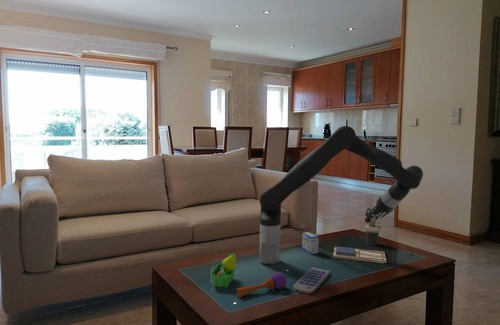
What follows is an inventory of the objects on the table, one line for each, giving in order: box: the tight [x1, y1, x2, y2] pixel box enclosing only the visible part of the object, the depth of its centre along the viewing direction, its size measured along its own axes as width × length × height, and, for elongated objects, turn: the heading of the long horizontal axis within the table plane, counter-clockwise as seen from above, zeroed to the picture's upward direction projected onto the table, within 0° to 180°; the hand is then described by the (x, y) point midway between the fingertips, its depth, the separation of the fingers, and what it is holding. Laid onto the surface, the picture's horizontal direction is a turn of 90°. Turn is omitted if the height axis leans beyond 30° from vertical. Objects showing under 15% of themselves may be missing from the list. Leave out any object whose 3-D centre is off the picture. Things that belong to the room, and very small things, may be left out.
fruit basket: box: [210, 253, 238, 288], centre depth 137 cm, size 11×9×11 cm
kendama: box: [235, 271, 287, 298], centre depth 130 cm, size 6×6×20 cm
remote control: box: [292, 267, 331, 293], centre depth 140 cm, size 8×23×2 cm, turn 151°
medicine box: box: [301, 231, 319, 255], centre depth 175 cm, size 8×4×9 cm, turn 25°
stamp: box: [364, 214, 380, 235], centre depth 167 cm, size 6×6×8 cm
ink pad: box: [335, 246, 356, 256], centre depth 171 cm, size 9×9×1 cm
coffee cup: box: [365, 226, 381, 246], centre depth 188 cm, size 8×8×10 cm
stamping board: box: [332, 246, 387, 264], centre depth 170 cm, size 14×24×1 cm, turn 73°
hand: (369, 220), depth 168 cm, fingers closed on stamp, 3 cm apart
